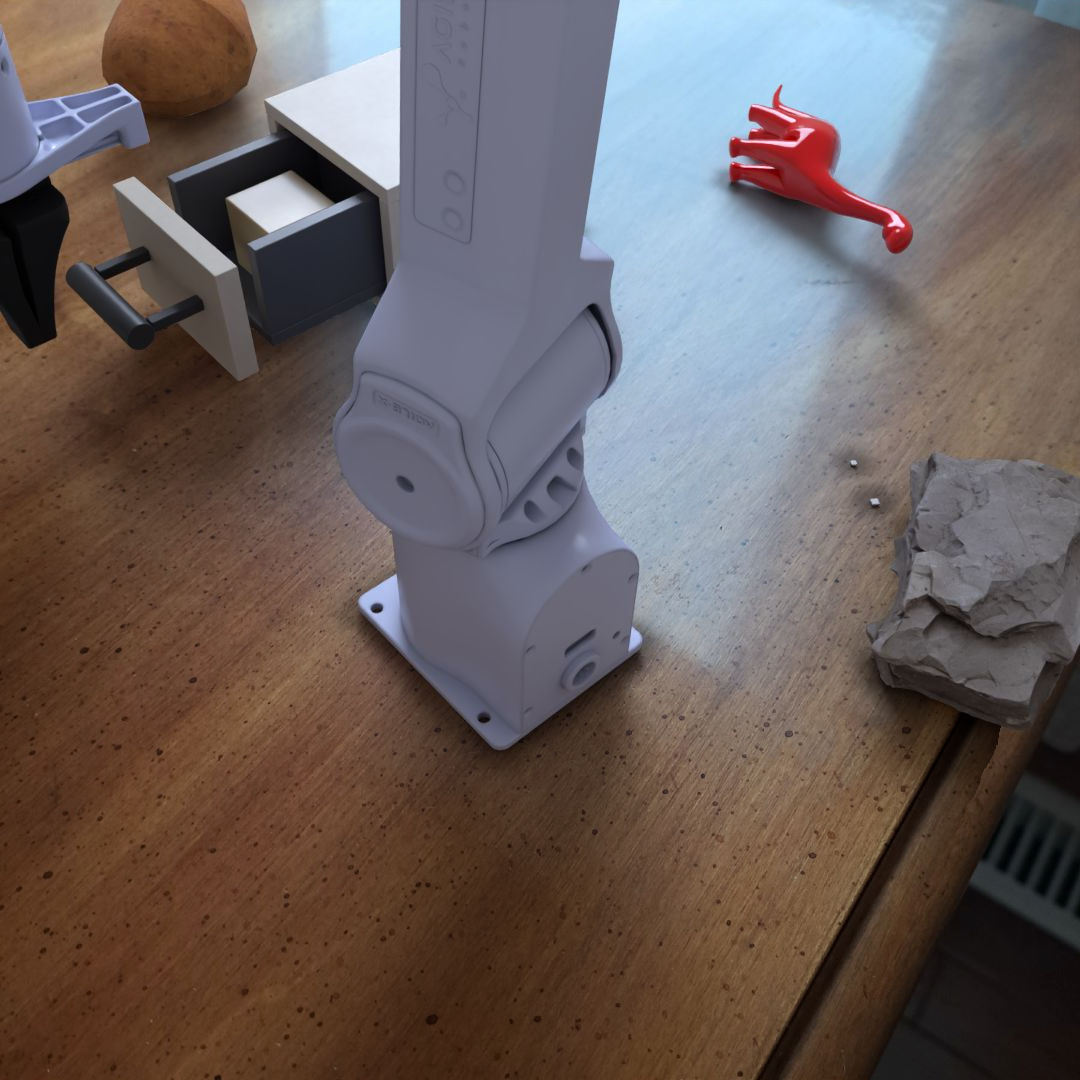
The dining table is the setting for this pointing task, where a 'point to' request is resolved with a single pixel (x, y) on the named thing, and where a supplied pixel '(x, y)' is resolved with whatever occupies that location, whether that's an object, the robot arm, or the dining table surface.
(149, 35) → the potato
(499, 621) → the robot arm
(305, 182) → the block
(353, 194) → the drawer
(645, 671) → the dining table surface
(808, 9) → the dining table surface
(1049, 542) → the rock
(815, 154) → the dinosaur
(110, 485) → the dining table surface
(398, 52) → the cabinet
